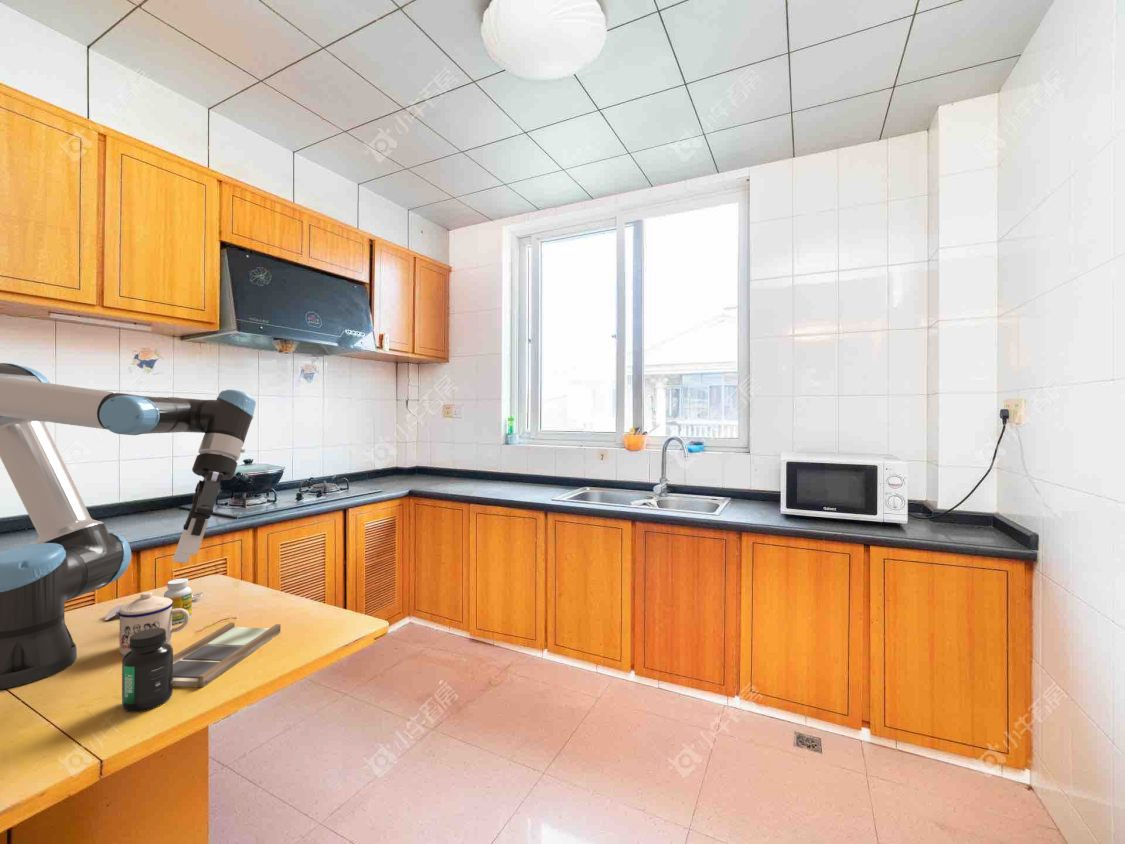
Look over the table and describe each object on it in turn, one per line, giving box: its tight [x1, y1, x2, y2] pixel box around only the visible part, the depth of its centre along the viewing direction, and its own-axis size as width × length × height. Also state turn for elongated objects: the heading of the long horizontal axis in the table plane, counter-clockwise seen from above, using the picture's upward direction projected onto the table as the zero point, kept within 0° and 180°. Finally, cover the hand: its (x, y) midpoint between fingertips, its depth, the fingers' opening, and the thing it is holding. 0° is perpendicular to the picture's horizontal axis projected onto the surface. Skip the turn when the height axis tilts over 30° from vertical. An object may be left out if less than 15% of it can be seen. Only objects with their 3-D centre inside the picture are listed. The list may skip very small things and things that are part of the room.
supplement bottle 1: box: [121, 628, 174, 713], centre depth 87 cm, size 7×7×12 cm
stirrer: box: [104, 591, 204, 621], centre depth 128 cm, size 20×4×5 cm
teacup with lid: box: [118, 591, 190, 656], centre depth 107 cm, size 12×9×12 cm
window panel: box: [173, 622, 281, 688], centre depth 103 cm, size 12×23×2 cm, turn 177°
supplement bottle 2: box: [163, 578, 193, 625], centre depth 121 cm, size 5×5×10 cm
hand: (184, 558), depth 98 cm, fingers open, 13 cm apart
